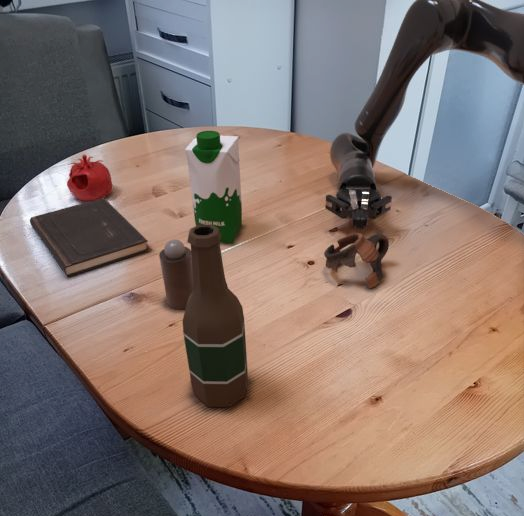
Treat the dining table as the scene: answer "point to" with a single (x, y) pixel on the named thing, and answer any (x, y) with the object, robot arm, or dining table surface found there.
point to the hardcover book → (88, 236)
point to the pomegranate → (89, 180)
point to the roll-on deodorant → (177, 273)
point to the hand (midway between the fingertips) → (360, 224)
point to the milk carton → (216, 182)
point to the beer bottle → (213, 326)
